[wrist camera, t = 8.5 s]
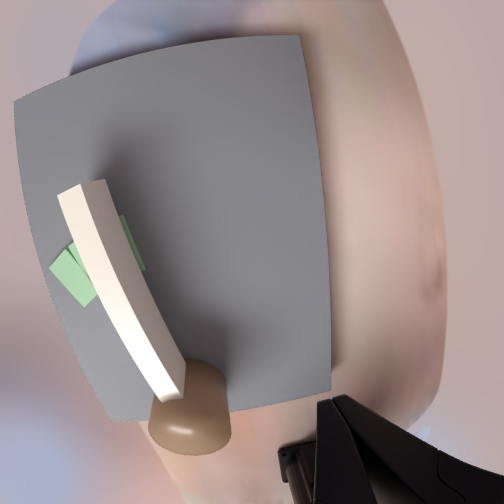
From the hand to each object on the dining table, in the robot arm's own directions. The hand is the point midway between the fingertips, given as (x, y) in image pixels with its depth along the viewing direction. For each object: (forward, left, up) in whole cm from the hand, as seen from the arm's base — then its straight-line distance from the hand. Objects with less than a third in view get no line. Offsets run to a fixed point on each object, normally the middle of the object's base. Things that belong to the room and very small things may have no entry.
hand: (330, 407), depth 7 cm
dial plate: (+2, +5, -11) cm, 12 cm away
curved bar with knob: (-1, +7, -9) cm, 11 cm away
